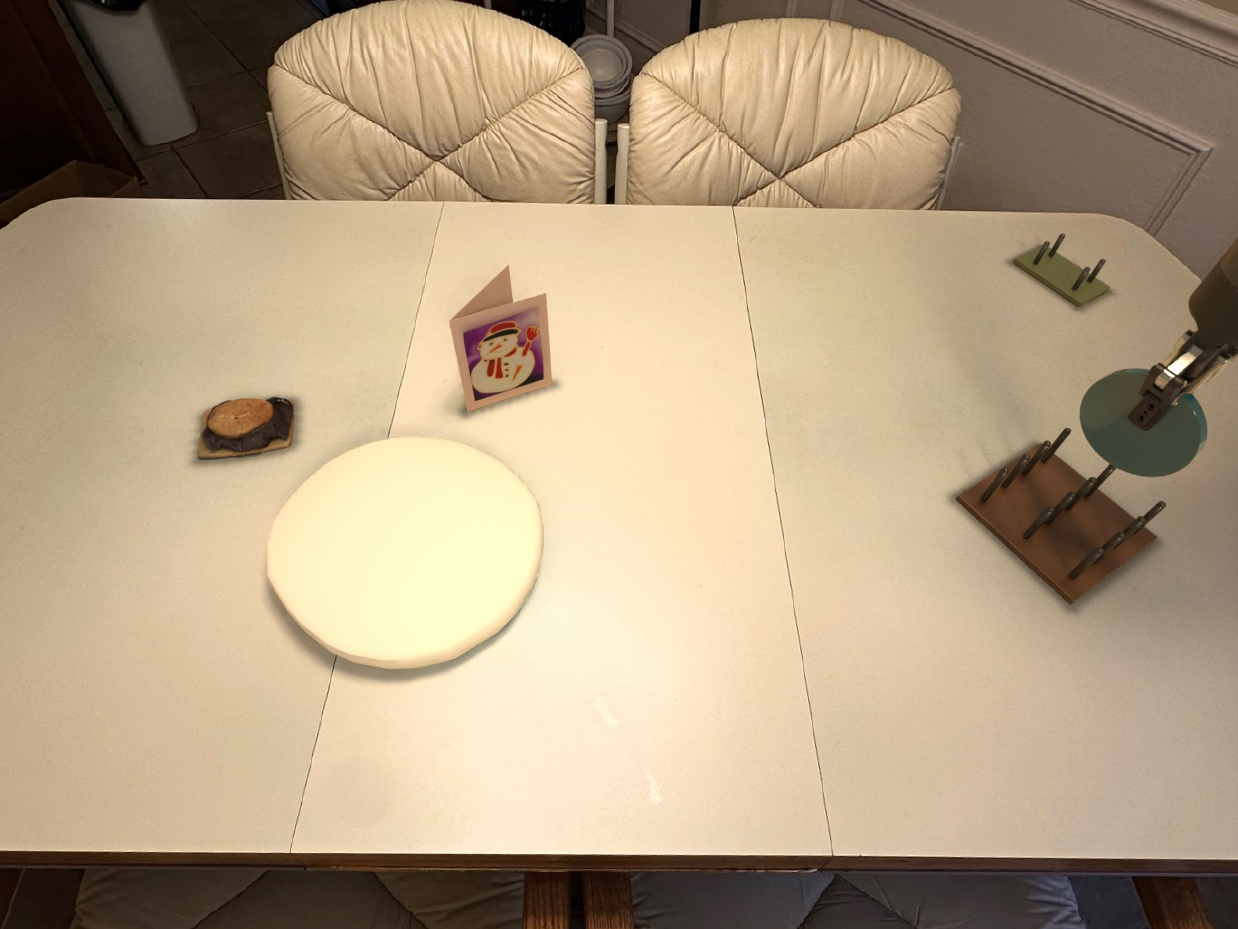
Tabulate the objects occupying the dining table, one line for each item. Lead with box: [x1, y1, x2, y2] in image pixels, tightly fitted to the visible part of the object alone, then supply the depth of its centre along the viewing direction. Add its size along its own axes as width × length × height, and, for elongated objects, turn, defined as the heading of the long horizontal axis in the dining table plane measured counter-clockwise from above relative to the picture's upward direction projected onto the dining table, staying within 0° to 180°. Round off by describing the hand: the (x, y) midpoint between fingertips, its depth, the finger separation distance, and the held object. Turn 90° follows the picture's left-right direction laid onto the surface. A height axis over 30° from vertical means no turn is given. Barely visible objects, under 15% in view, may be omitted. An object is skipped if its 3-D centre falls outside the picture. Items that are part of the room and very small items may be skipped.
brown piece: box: [197, 396, 295, 459], centre depth 89 cm, size 11×8×4 cm
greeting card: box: [448, 264, 553, 412], centre depth 90 cm, size 11×7×15 cm, turn 116°
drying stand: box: [1012, 233, 1111, 308], centre depth 111 cm, size 7×12×5 cm, turn 33°
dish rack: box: [955, 427, 1167, 605], centre depth 83 cm, size 15×16×7 cm
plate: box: [265, 436, 545, 670], centre depth 78 cm, size 28×6×27 cm
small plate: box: [1079, 367, 1209, 478], centre depth 72 cm, size 1×11×11 cm, turn 33°
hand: (1144, 419), depth 71 cm, fingers closed on small plate, 1 cm apart
